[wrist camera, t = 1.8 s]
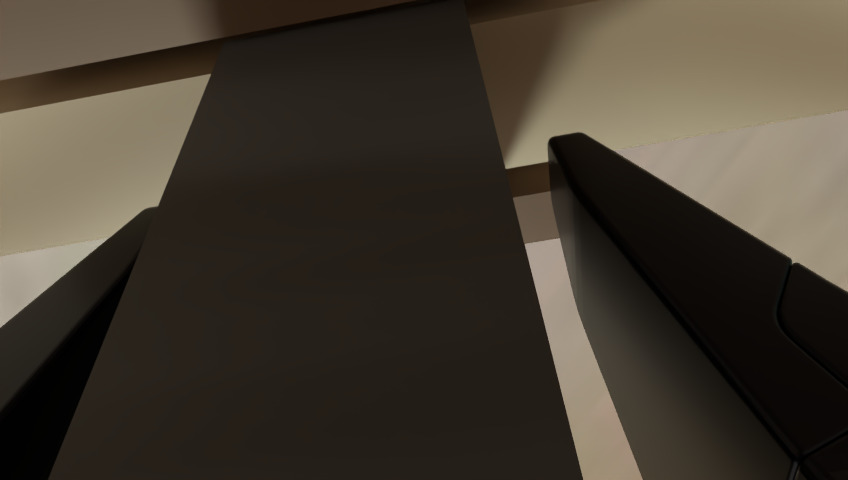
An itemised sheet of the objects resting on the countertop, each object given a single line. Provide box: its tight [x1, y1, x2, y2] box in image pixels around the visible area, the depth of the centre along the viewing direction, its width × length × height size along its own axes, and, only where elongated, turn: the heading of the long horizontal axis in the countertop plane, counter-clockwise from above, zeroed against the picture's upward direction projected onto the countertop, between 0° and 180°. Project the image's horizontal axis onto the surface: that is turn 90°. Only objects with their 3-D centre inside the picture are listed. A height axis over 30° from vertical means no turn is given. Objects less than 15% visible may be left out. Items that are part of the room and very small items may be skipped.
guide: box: [0, 0, 560, 244], centre depth 11 cm, size 5×8×2 cm
